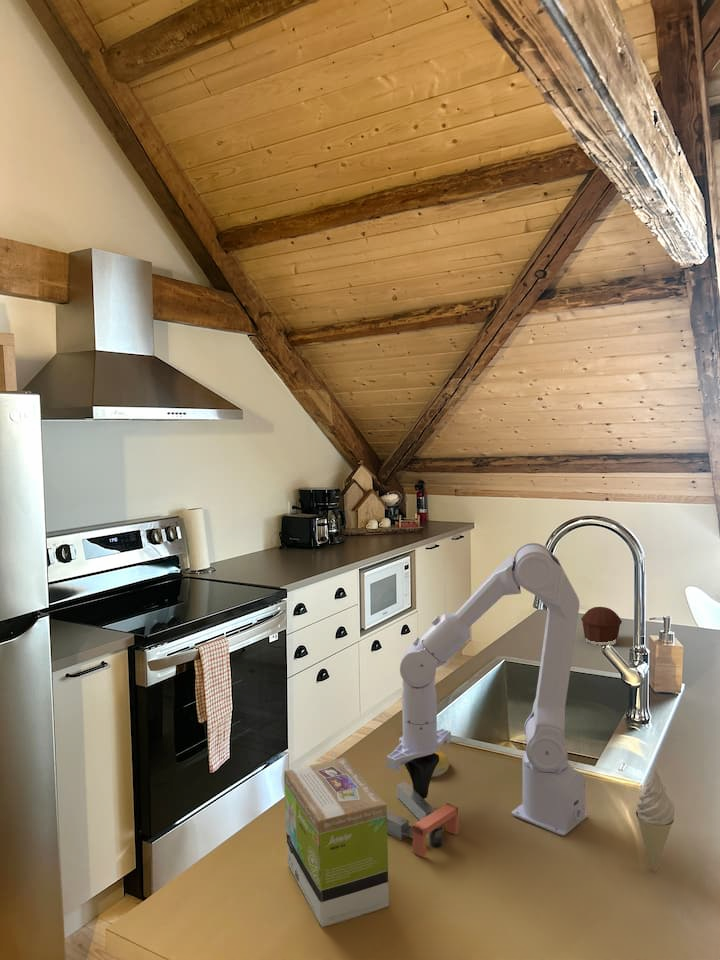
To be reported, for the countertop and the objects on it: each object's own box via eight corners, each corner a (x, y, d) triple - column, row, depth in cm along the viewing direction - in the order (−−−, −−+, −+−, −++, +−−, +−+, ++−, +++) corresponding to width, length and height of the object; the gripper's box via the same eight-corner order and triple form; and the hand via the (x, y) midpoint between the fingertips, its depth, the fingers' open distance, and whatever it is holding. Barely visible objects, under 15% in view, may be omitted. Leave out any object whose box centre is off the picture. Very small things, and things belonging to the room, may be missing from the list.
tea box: (284, 866, 106) (282, 768, 105) (348, 849, 110) (346, 754, 109) (320, 931, 92) (317, 818, 91) (391, 909, 96) (389, 801, 95)
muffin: (577, 636, 218) (577, 603, 217) (615, 636, 216) (616, 603, 216) (586, 647, 206) (586, 613, 205) (626, 648, 205) (626, 613, 204)
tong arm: (446, 834, 113) (446, 821, 112) (436, 837, 112) (436, 823, 112) (406, 794, 125) (406, 781, 125) (396, 796, 124) (396, 783, 124)
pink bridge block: (458, 833, 113) (458, 807, 113) (423, 857, 107) (423, 830, 106) (448, 828, 114) (447, 802, 114) (413, 852, 108) (412, 825, 108)
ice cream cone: (670, 886, 99) (671, 780, 98) (631, 874, 102) (632, 771, 101) (676, 867, 104) (677, 765, 103) (638, 856, 106) (639, 757, 105)
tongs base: (445, 843, 110) (445, 828, 110) (429, 854, 108) (429, 839, 108) (369, 806, 122) (368, 792, 121) (352, 815, 119) (352, 801, 119)
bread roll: (414, 782, 130) (414, 761, 130) (398, 760, 139) (398, 740, 138) (457, 775, 132) (456, 754, 132) (438, 755, 141) (438, 735, 141)
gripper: (428, 699, 129) (429, 773, 130) (372, 724, 119) (373, 804, 120) (460, 709, 124) (461, 786, 125) (405, 736, 114) (406, 820, 115)
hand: (420, 796), depth 122 cm, fingers closed, pressing on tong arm
